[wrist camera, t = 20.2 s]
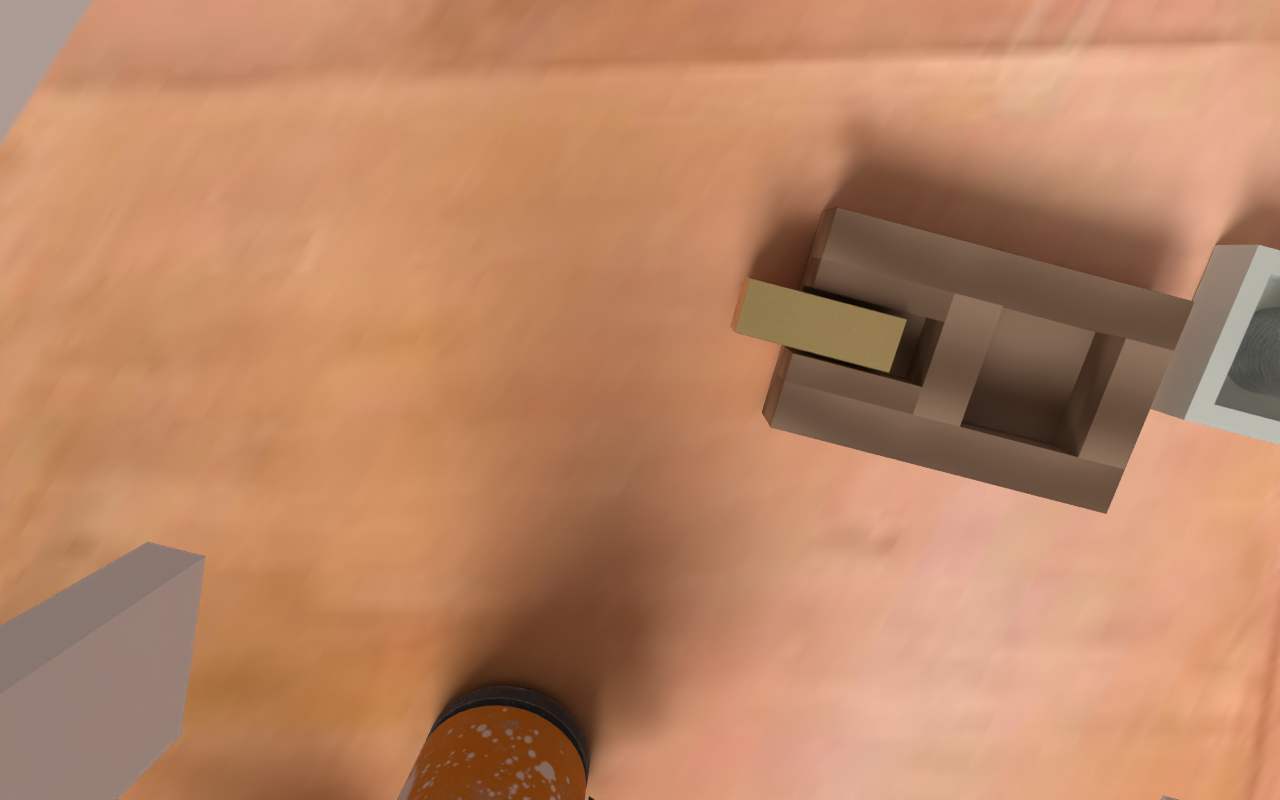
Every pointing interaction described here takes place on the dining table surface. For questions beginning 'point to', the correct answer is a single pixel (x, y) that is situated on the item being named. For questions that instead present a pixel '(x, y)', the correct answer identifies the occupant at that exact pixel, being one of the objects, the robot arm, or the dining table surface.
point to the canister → (501, 750)
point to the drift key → (817, 324)
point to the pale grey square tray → (1223, 345)
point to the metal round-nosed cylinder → (1259, 355)
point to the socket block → (981, 362)
